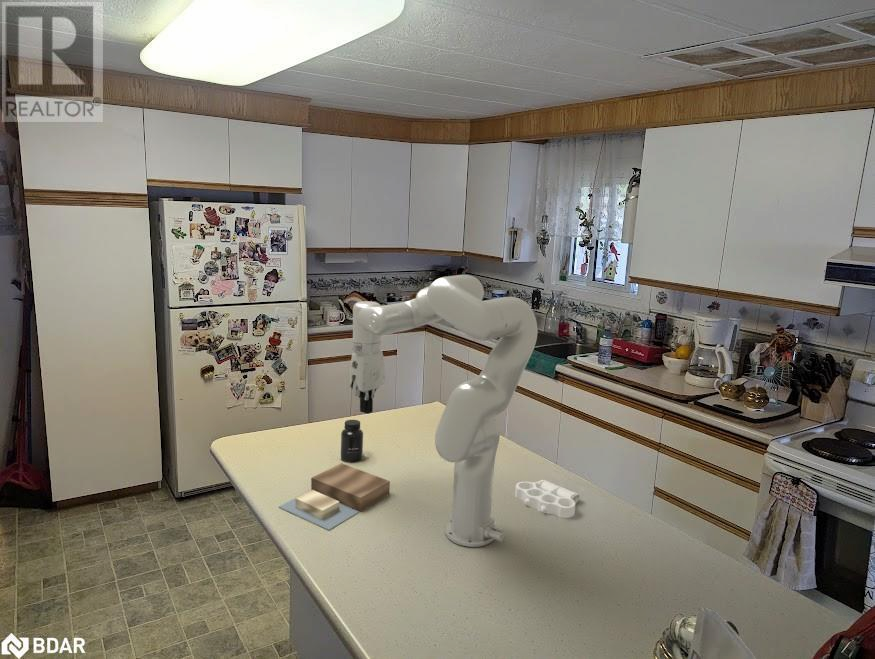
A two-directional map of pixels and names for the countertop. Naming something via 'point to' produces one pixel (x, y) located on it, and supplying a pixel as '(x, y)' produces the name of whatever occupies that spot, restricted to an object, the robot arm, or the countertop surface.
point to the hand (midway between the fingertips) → (366, 411)
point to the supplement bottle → (351, 441)
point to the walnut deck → (351, 486)
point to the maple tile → (317, 504)
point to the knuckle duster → (548, 498)
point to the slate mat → (326, 523)
